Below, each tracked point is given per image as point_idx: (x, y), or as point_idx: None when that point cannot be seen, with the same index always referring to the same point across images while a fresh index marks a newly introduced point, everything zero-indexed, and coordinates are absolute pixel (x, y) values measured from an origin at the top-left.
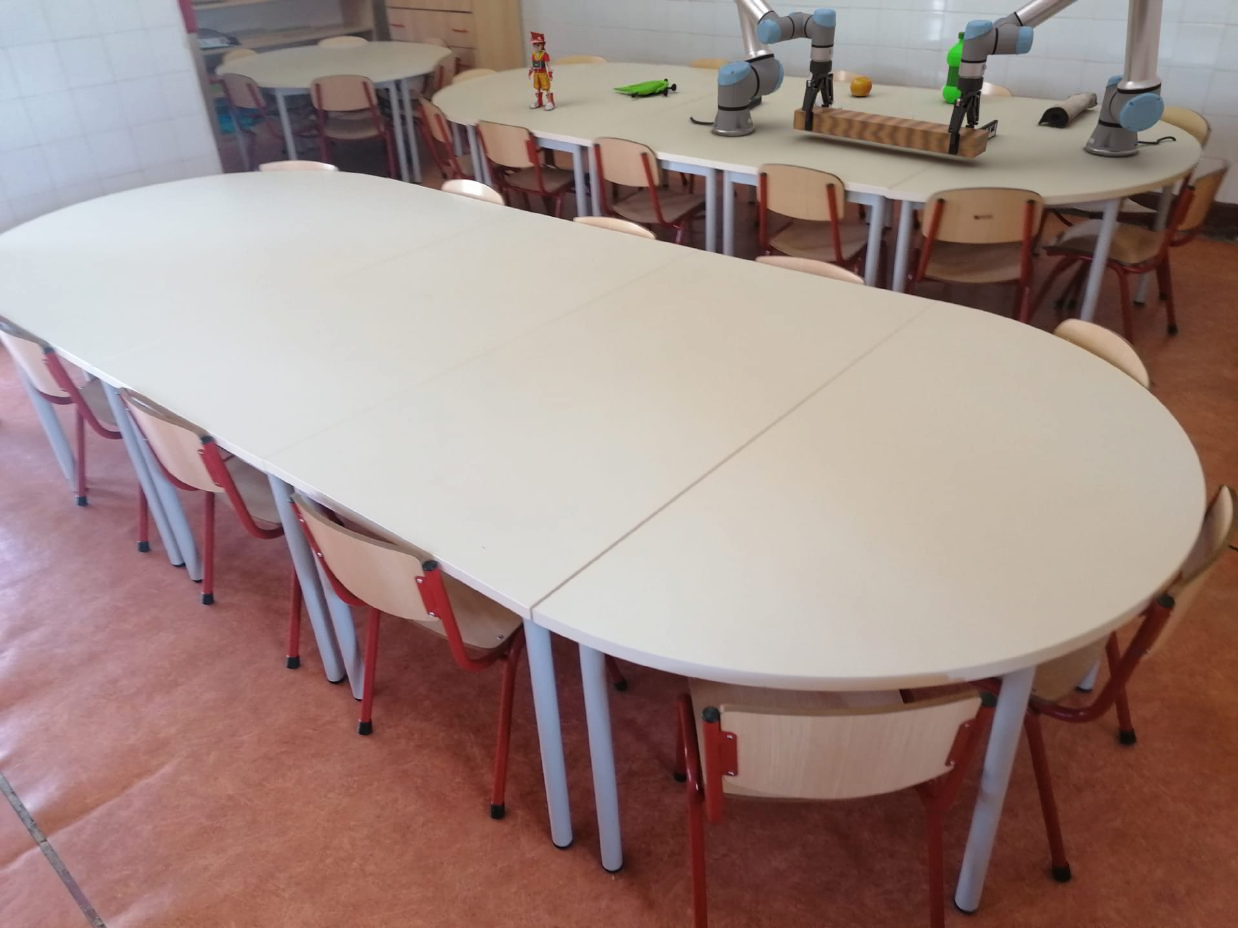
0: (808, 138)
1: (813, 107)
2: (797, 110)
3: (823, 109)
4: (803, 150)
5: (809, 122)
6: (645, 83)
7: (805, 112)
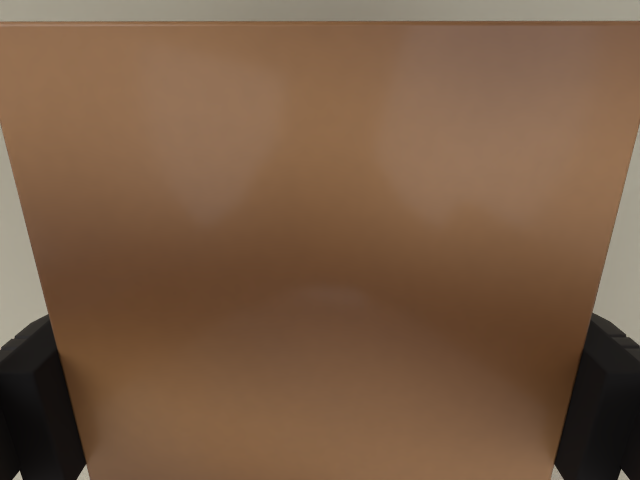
0: None
1: (449, 266)
2: (23, 99)
3: (392, 475)
4: (14, 315)
5: None
6: None
7: (51, 319)
